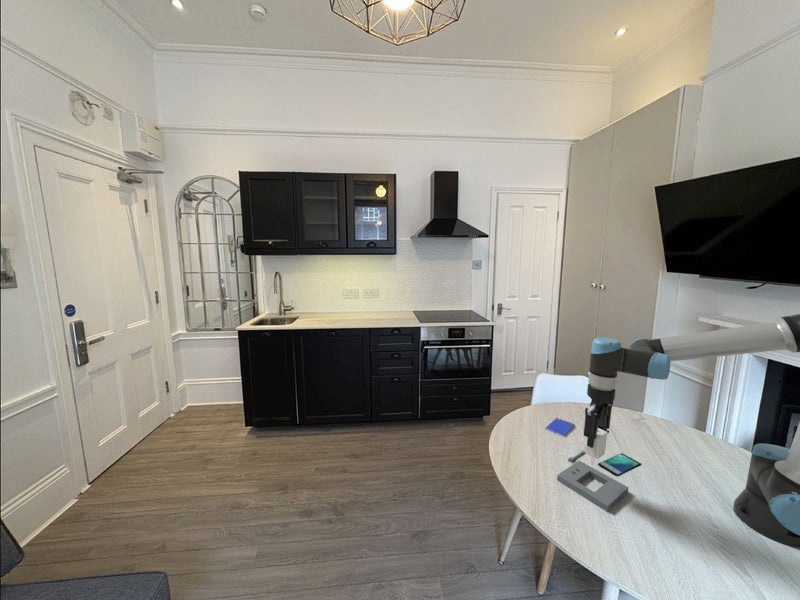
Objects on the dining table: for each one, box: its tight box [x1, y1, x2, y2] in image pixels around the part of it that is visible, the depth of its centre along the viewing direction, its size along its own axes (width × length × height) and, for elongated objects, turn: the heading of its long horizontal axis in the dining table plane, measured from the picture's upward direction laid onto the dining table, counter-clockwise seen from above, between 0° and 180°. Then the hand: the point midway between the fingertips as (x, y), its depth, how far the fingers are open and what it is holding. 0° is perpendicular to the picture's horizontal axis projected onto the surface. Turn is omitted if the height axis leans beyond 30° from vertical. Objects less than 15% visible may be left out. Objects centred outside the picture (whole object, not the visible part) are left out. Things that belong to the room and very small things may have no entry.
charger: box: [583, 428, 608, 460], centre depth 104 cm, size 4×4×8 cm
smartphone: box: [597, 452, 641, 477], centre depth 117 cm, size 7×1×15 cm
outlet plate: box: [556, 460, 629, 512], centre depth 107 cm, size 16×14×2 cm
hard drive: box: [544, 417, 576, 438], centre depth 142 cm, size 2×8×12 cm
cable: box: [567, 449, 585, 463], centre depth 123 cm, size 1×13×1 cm, turn 123°
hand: (594, 452), depth 105 cm, fingers closed on charger, 4 cm apart
